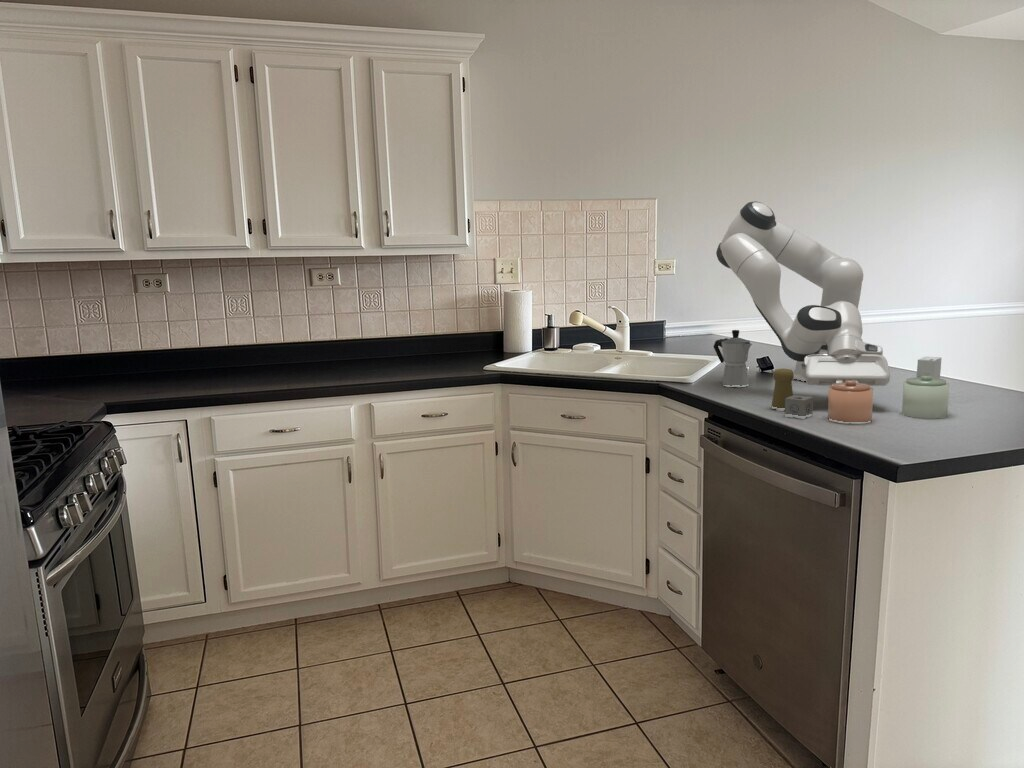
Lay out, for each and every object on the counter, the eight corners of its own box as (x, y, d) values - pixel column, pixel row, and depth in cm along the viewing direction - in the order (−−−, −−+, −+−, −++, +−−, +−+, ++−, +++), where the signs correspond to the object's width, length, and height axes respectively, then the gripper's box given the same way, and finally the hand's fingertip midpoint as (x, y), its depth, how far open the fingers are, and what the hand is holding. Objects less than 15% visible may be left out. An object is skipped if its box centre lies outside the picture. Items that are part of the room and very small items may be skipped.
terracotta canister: (819, 419, 183) (820, 381, 181) (845, 413, 188) (846, 376, 186) (854, 426, 174) (855, 386, 173) (880, 420, 179) (882, 381, 177)
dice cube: (784, 417, 187) (785, 398, 186) (793, 413, 191) (793, 395, 190) (803, 419, 184) (804, 400, 183) (812, 416, 187) (812, 397, 186)
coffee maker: (760, 386, 230) (761, 329, 227) (742, 389, 225) (743, 332, 222) (723, 380, 242) (723, 327, 239) (705, 384, 237) (705, 329, 234)
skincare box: (921, 399, 200) (923, 355, 198) (939, 401, 196) (942, 356, 194) (913, 403, 195) (915, 358, 193) (932, 404, 192) (934, 359, 190)
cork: (766, 408, 198) (766, 368, 196) (783, 405, 200) (783, 366, 198) (782, 412, 193) (783, 371, 191) (799, 409, 195) (800, 369, 193)
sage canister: (893, 414, 184) (895, 376, 183) (917, 408, 189) (918, 371, 187) (932, 420, 176) (934, 381, 174) (956, 414, 180) (958, 376, 179)
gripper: (804, 346, 195) (804, 389, 188) (888, 346, 188) (892, 390, 181) (803, 360, 200) (803, 402, 193) (885, 361, 193) (889, 404, 186)
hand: (847, 396), depth 187 cm, fingers closed
